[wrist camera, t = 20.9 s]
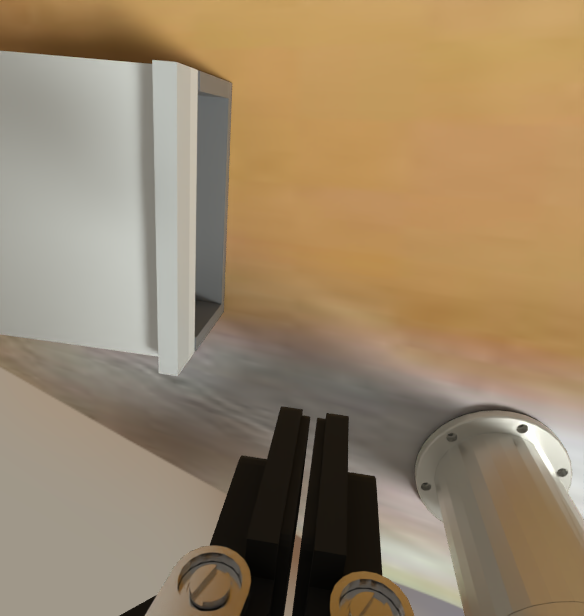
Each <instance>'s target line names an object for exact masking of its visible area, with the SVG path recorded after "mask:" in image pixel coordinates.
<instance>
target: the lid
mask: <svg viewBox="0 0 584 616" xmlns="http://www.w3.org/2000/svg"><path fill="white" fill-rule="evenodd" d="M197 103H198V70H196V69H194V68H191V67H188V66H186V65H183V64H181V63H178V62H170V61H159V60H152V64H147V63H135V62H124V61H112V60H101V59H90V58H78V57H67V56H55V55H44V54H32V53H21V52H10V51H0V334H1V335H8V336H15V337H22V338H29V339H36V340H43V341H50V342H57V343H65V344H72V345H79V346H86V347H93V348H100V349H107V350H114V351H121V352H129V353H136V354H143V355H150V356H157V357H158V369H159V374H166V375H173V376H178V375H179V374H180V372H181V371H182V369H183V368H184V367H185V365H186V364H187V362H188V361H189V360H190V358H191V357H192V355H193V354H194V346H195V265H196V184H197Z"/></svg>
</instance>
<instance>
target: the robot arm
mask: <svg viewBox="0 0 584 616" xmlns="http://www.w3.org/2000/svg"><path fill="white" fill-rule="evenodd" d="M302 412H303V410H302V409H295V408H288V407H281V408H280V412H279V416H278V420H277V423H276V427H275V431H274V435H273V439H272V443H271V446H270V450H269V454H268V458H267V459H261V458H254V457H248V456H241V457H240V459H239V462H238V465H237V468H236V471H235V473H234V476H233V479H232V482H231V485H230V488H229V491H228V494H227V497H226V500H225V503H224V505H223V508H222V511H221V514H220V517H219V520H218V523H217V526H216V529H215V531H214V534H213V537H212V540H211V543H210V546H203V547H200V548H198V549H195V550H192V551H190V552H189V553H188V554H186V555H185V556H183V557H182V558H181V559H180V560H179V561H178V562H177V564H176V565H175V566H174V567H173V569H172V571H171V572H170V574H169V576H168V578H167V579H166V581H165V582H164V584H163V586H162V588H161V589H160V591H159V593H158V594H157V595H156V596H154V597H152V598H150V599H149V600H147V601H145V602H143V603H141V604H139V605H138V606H136V607H135V608H132V609H131V610H129V611H127V612H125V613H123V614H121V615H120V616H284V610H285V604H286V596H287V590H288V583H289V576H290V569H291V562H292V554H293V547H294V540H295V534H296V527H297V520H298V512H299V505H300V497H301V489H302V481H303V473H304V465H305V456H306V448H307V440H308V432H309V424H310V417H309V416H302ZM348 425H349V417H348V416H343V415H336V414H329V413H327V414H326V419H322V418H317V424H316V432H315V440H314V447H313V455H312V463H311V470H310V478H309V486H308V493H307V501H306V509H305V517H304V525H303V533H302V541H301V550H300V557H299V565H298V573H297V581H296V589H295V597H294V604H293V613H292V616H414V613H413V610H412V608H411V605H410V603H409V600H408V598H407V597H406V596H405V594H404V593H403V592H402V590H401V589H400V588H399V587H398V586H397V585H396V584H394V583H393V582H392V581H391V580H389V579H388V578H386V577H383V576H382V564H381V549H380V533H379V518H378V503H377V487H376V478H375V476H370V475H363V474H357V473H350V472H348ZM571 480H572V466H571V461H570V458H569V456H568V453H567V451H566V449H565V448H564V446H563V444H562V443H561V441H560V440H559V439H558V437H557V436H556V435H555V434H554V433H553V432H552V431H551V430H550V429H549V428H548V427H546V426H545V425H543V424H542V423H541V422H539V421H537V420H535V419H533V418H531V417H528V416H526V415H522V414H519V413H515V412H509V411H500V410H492V411H480V412H475V413H470V414H466V415H463V416H461V417H458V418H456V419H453V420H451V421H450V422H448V423H446V424H444V425H443V426H441V427H440V428H439V429H437V430H436V431H435V432H434V433H433V434H432V435H430V437H429V438H428V439H427V440H426V442H425V443H424V444H423V446H422V448H421V450H420V452H419V454H418V456H417V460H416V464H415V481H416V486H417V490H418V493H419V496H420V498H421V500H422V502H423V503H424V505H425V506H426V508H427V509H428V510H429V511H430V512H431V513H432V514H433V515H434V516H435V517H436V518H437V519H439V520H440V521H442V522H443V523H444V528H445V532H446V536H447V541H448V545H449V550H450V554H451V558H452V563H453V567H454V571H455V576H456V580H457V584H458V589H459V593H460V597H461V602H462V606H463V611H464V615H465V616H584V519H583V517H582V515H581V514H580V512H579V510H578V509H577V507H576V505H575V504H574V502H573V500H572V499H571V497H570V495H569V494H568V491H569V488H570V486H571Z"/></svg>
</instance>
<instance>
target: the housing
mask: <svg viewBox="0 0 584 616" xmlns="http://www.w3.org/2000/svg"><path fill="white" fill-rule="evenodd" d="M231 102H232V83H231V82H228V81H225V80H223V79H220V78H217V77H215V76H212V75H210V74H207V73H204V72H202V71H198V103H197V184H196V265H195V346H194V350H195V351H196V350H197V349H198V347H199V346H200V345H201V343H202V342H203V340H204V339H205V338H206V336H207V335H208V333H209V332H210V330H211V329H212V328H213V326H214V325H215V323H216V322H217V321H218V319H219V318H220V316H221V315H222V314H223V312H224V290H225V263H226V236H227V209H228V182H229V156H230V129H231Z"/></svg>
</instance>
